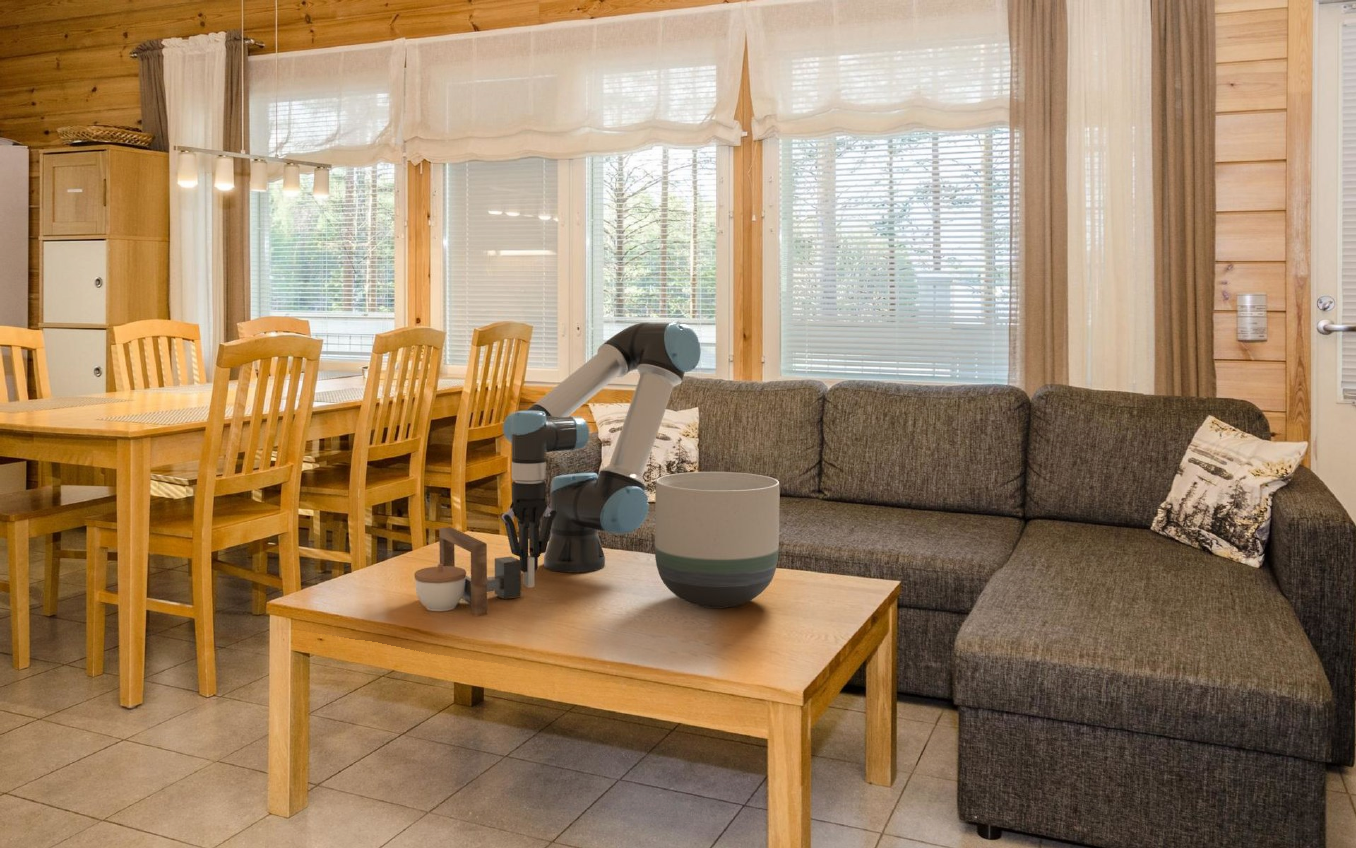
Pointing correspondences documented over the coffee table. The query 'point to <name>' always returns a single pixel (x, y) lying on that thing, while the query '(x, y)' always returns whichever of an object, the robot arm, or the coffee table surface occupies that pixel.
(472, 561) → the bridge
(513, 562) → the cube and plate dumbbell
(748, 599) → the planter
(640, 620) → the coffee table surface
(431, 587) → the lidded jar
